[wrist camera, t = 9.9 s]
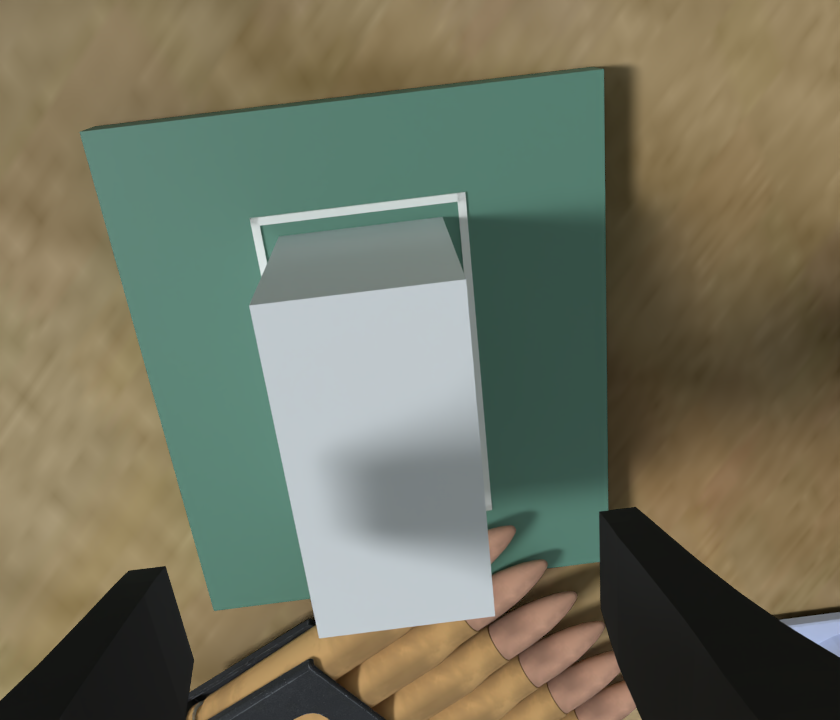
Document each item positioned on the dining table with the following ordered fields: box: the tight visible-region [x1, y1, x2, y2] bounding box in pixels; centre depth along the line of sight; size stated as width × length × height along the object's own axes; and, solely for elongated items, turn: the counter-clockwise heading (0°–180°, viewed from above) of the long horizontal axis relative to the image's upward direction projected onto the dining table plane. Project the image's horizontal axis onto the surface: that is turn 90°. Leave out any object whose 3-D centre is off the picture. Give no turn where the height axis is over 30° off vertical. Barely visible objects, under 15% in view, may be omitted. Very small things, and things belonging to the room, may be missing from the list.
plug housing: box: [249, 217, 495, 638], centre depth 18 cm, size 4×8×5 cm, turn 6°
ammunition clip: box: [185, 525, 636, 720], centre depth 25 cm, size 11×2×12 cm
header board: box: [80, 67, 608, 611], centre depth 19 cm, size 12×14×4 cm
